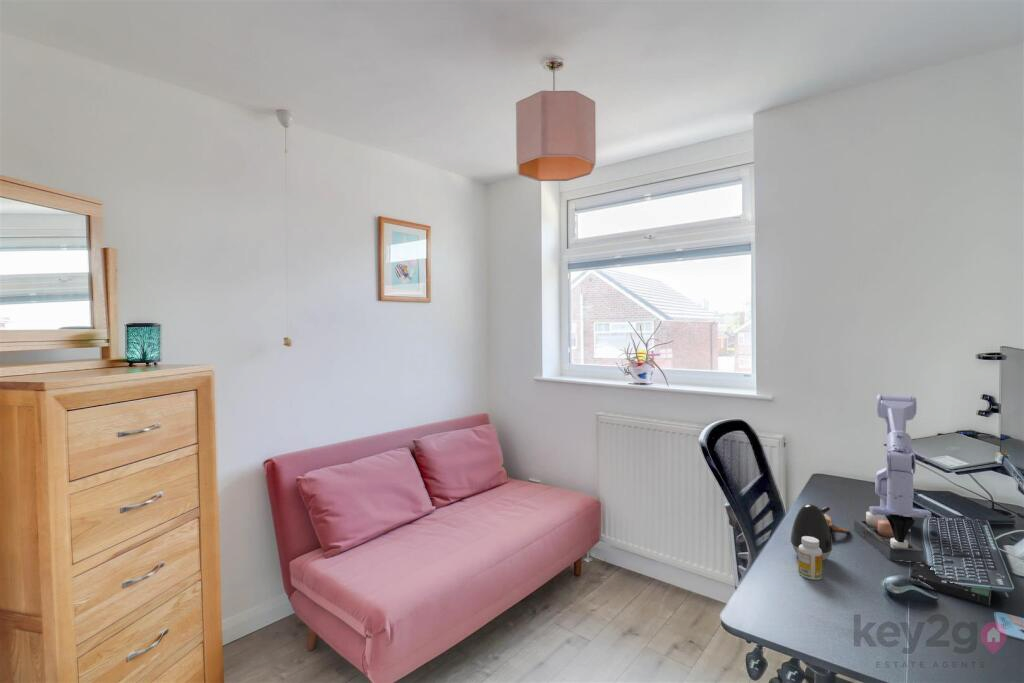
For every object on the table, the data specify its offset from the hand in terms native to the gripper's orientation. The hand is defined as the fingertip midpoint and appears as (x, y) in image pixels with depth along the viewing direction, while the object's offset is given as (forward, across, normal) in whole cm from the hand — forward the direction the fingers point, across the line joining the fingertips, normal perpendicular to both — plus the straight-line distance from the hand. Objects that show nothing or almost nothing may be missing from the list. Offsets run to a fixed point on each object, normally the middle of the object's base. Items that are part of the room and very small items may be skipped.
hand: (899, 541), depth 139 cm
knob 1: (+1, 0, +14) cm, 14 cm away
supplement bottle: (+5, -29, -17) cm, 34 cm away
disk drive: (+5, +4, -16) cm, 17 cm away
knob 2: (+4, 0, 0) cm, 4 cm away
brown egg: (+1, 0, +7) cm, 7 cm away
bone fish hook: (+5, -12, +14) cm, 19 cm away
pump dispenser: (+5, -25, -6) cm, 26 cm away
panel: (+4, 0, +7) cm, 8 cm away
